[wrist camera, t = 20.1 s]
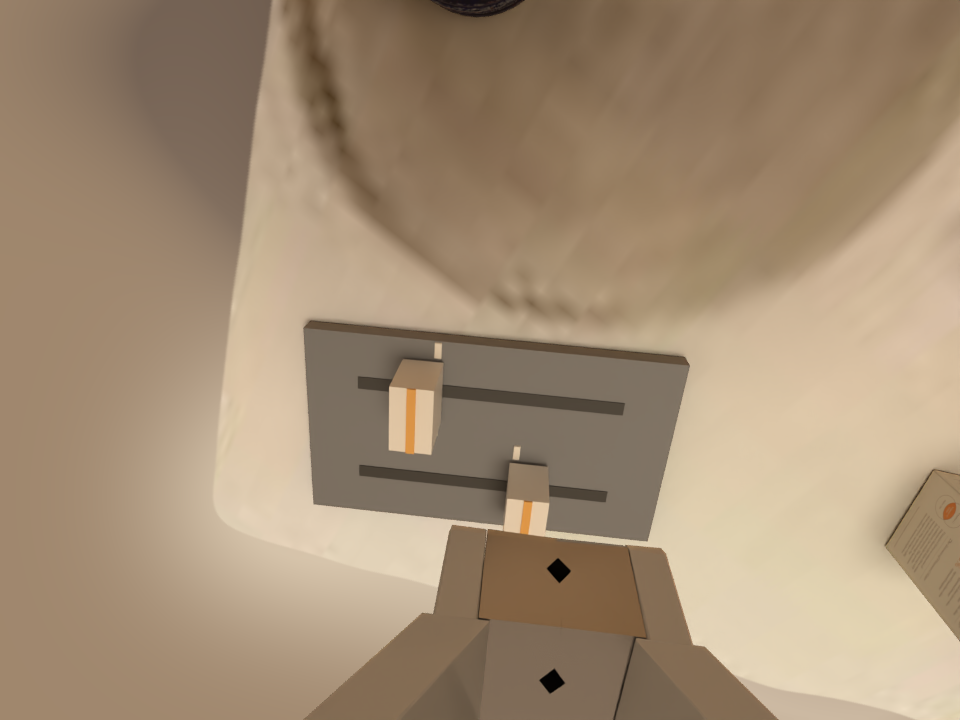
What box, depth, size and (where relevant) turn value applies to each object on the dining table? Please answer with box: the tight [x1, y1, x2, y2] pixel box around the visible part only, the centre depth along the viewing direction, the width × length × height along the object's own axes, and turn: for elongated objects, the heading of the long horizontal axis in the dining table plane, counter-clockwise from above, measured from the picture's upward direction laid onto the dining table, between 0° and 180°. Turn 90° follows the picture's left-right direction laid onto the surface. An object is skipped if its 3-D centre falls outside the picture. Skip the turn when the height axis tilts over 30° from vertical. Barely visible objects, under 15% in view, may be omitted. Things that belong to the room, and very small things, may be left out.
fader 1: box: [389, 359, 444, 455], centre depth 42 cm, size 3×5×5 cm, turn 176°
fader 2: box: [503, 463, 549, 537], centre depth 45 cm, size 3×5×5 cm, turn 176°
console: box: [304, 321, 690, 541], centre depth 47 cm, size 28×16×2 cm, turn 86°
